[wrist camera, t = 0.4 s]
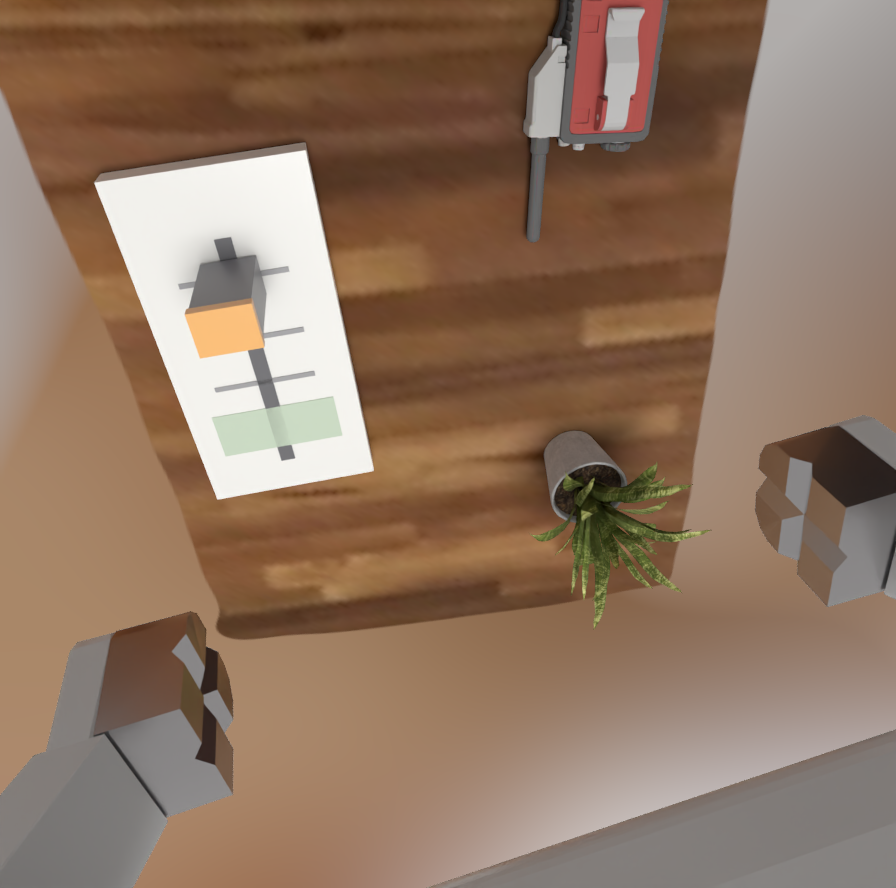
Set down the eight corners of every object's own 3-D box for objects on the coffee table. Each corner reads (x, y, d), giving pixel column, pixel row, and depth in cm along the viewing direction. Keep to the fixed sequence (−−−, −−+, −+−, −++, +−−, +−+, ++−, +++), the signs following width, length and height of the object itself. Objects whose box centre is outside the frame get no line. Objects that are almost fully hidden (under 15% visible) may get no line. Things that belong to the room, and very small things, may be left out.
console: (100, 173, 51) (93, 183, 49) (305, 142, 52) (305, 150, 50) (219, 485, 68) (217, 500, 66) (372, 457, 69) (374, 471, 67)
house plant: (625, 513, 78) (691, 636, 65) (496, 521, 76) (537, 651, 63) (656, 397, 70) (737, 513, 57) (512, 403, 68) (563, 525, 55)
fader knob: (198, 263, 53) (184, 314, 47) (257, 253, 53) (251, 303, 47) (211, 303, 55) (200, 358, 49) (268, 294, 55) (264, 347, 49)
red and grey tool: (533, -74, 47) (514, 236, 59) (552, -71, 43) (528, 258, 55) (666, -74, 48) (622, 230, 60) (695, -72, 44) (642, 251, 56)
